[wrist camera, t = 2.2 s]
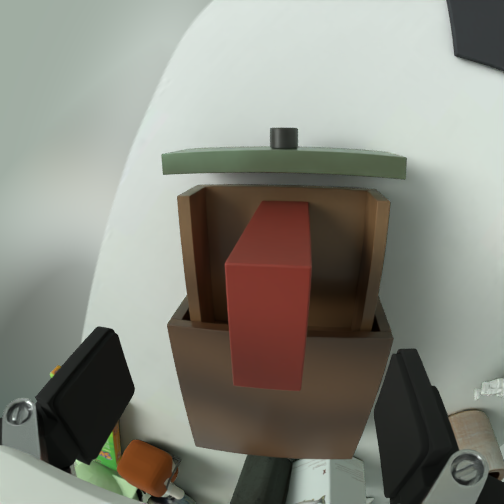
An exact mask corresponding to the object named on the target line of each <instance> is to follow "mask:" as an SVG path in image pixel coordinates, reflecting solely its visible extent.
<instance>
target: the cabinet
mask: <svg viewBox="0 0 504 504" xmlns="http://www.w3.org/2000/svg"><path fill="white" fill-rule="evenodd" d="M167 328H168V333H169V338H170V343H171V348H172V353H173V358H174V362H175V367H176V371H177V376H178V380H179V384H180V388H181V392H182V397H183V401H184V405H185V408H186V412H187V416H188V420H189V424H190V427H191V431H192V435H193V438H194V442H195V445H196V446H197V447H202V448H208V449H214V450H220V451H226V452H233V453H240V454H248V455H257V456H267V457H280V458H295V459H352V457H353V455H354V452H355V450H356V448H357V445H358V443H359V440H360V438H361V436H362V433H363V431H364V428H365V425H366V423H367V420H368V417H369V415H370V412H371V409H372V407H373V404H374V401H375V398H376V395H377V392H378V389H379V386H380V383H381V380H382V377H383V374H384V370H385V367H386V364H387V361H388V357H389V354H390V350H391V347H392V343H393V339H394V338H393V335H392V332H391V329H390V326H389V323H388V320H387V317H386V315H385V312H384V309H383V307H382V304H381V301H380V299H379V296H378V299H377V304H376V310H375V315H374V320H373V325H372V329H371V332H365V331H322V330H307V339H306V349H305V359H304V369H303V378H302V387H301V390H300V391H287V390H272V389H260V388H250V387H240V386H234V385H233V375H232V363H231V350H230V337H229V325H226V324H215V323H205V322H195V321H191V319H190V312H189V305H188V297H187V296H186V297H185V299H184V300H183V302H182V303H181V305H180V306H179V307H178V309H177V310H176V312H175V313H174V315H173V316H172V318H171V320H170V321H169V322H168V324H167Z"/></svg>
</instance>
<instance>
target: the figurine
mask: <svg viewBox="0 0 504 504" xmlns="http://www.w3.org/2000/svg"><path fill="white" fill-rule="evenodd" d="M496 394H497V397H499V396H502V397H504V378H501V379H496V380H492V381H489V382H483V383H482V388H481V389H475V390H474V399H475V400H478V399H479V396H480V395H488V396H490V395H496Z"/></svg>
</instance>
